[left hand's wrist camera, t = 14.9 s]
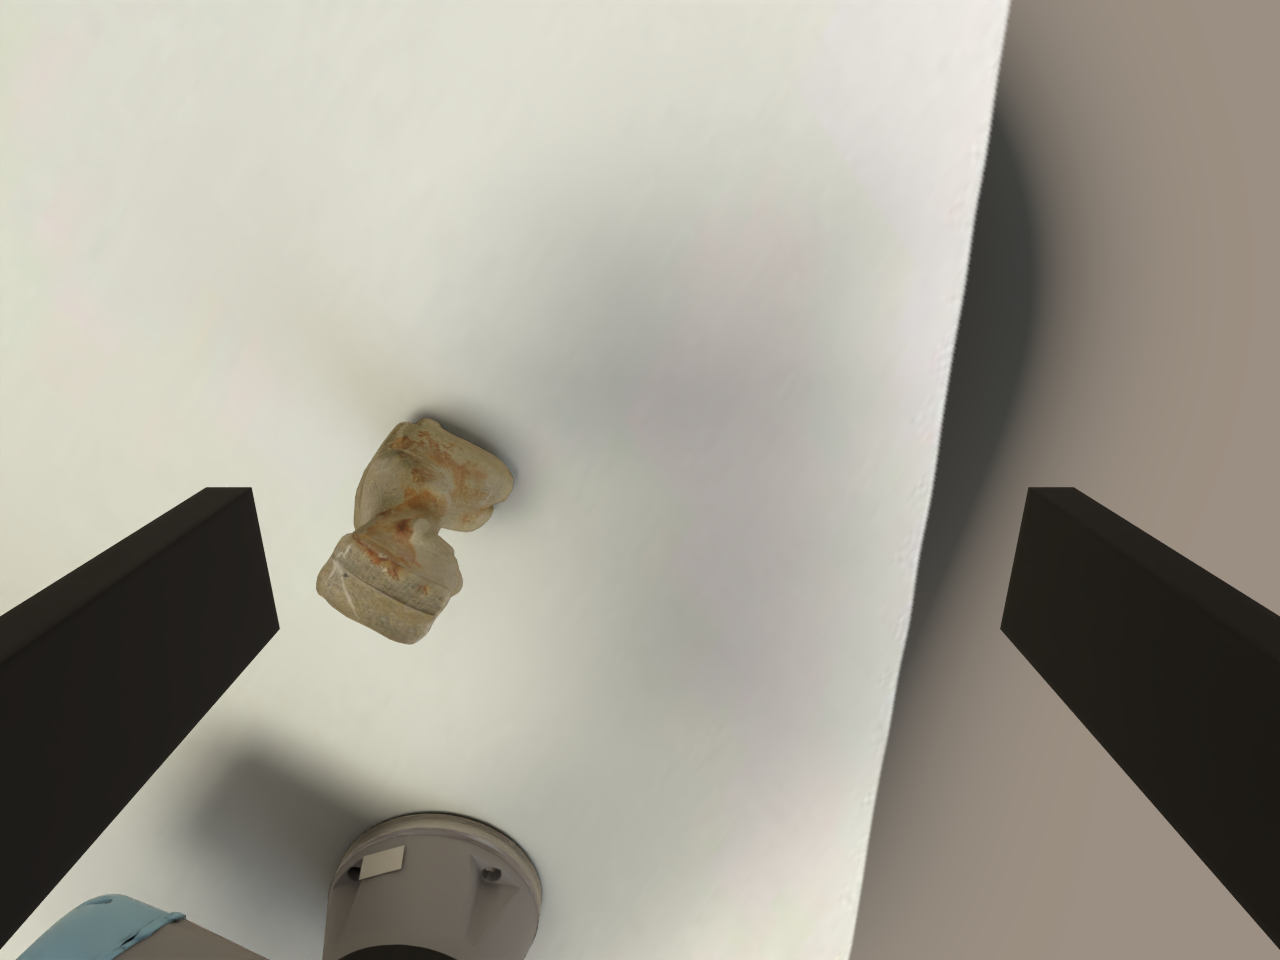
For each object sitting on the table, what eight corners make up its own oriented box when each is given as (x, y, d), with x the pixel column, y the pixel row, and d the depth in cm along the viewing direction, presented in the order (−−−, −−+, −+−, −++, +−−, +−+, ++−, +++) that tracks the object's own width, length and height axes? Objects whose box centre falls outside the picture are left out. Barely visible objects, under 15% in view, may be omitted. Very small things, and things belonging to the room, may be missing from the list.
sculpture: (473, 534, 44) (394, 685, 30) (373, 461, 42) (240, 584, 28) (531, 465, 42) (477, 589, 28) (430, 387, 41) (319, 478, 27)
